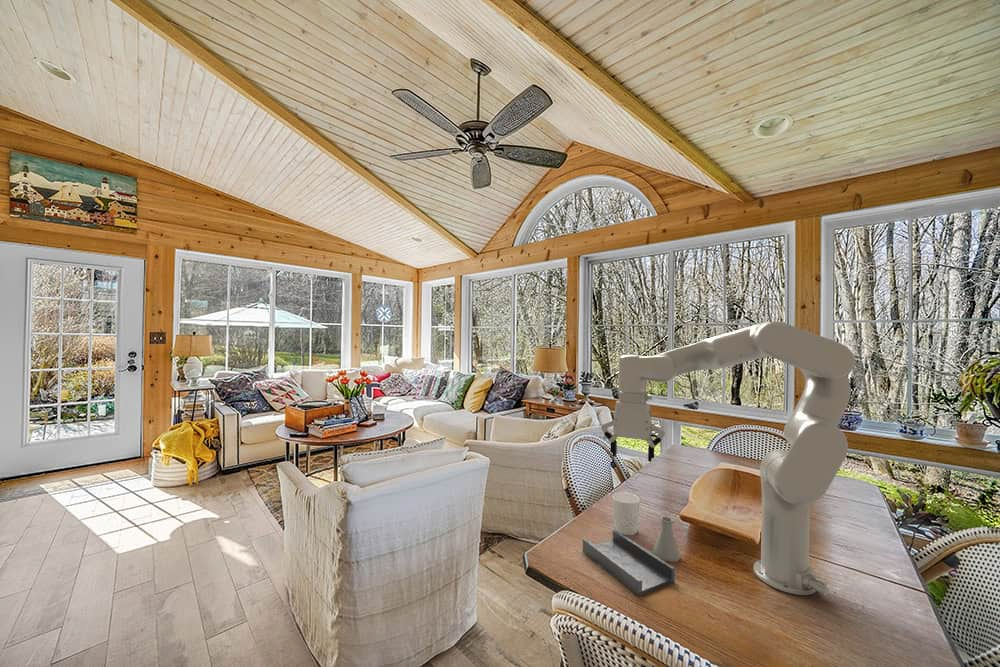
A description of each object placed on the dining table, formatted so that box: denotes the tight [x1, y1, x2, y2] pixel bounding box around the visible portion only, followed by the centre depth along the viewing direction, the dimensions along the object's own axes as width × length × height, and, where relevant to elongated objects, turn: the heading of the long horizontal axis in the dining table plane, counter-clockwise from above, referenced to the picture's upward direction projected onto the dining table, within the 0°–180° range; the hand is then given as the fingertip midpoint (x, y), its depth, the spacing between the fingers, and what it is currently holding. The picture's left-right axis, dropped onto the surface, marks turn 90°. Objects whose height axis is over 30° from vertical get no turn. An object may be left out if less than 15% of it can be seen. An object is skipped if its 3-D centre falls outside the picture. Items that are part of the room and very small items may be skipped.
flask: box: [651, 516, 682, 563], centre depth 105 cm, size 7×7×10 cm
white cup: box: [612, 492, 641, 536], centre depth 119 cm, size 8×8×10 cm
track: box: [582, 529, 676, 597], centre depth 100 cm, size 20×12×4 cm, turn 27°
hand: (631, 457), depth 109 cm, fingers open, 9 cm apart
